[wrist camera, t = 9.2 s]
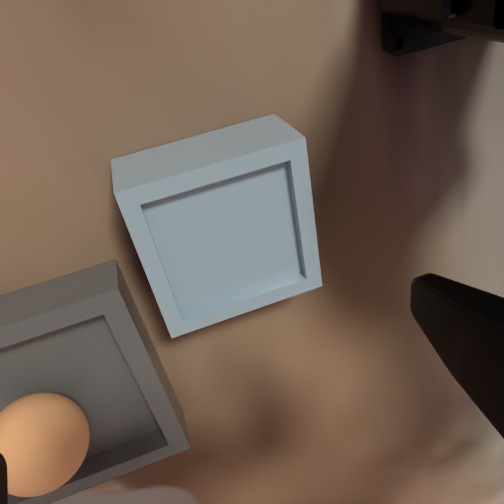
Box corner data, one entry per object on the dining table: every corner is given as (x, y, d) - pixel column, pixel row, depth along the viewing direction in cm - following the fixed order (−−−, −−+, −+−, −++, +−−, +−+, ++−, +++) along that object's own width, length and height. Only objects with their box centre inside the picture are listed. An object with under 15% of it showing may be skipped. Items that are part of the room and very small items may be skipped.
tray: (115, 259, 21) (118, 289, 19) (183, 414, 27) (190, 448, 25) (-163, 347, 19) (-193, 390, 17) (-17, 490, 26) (-26, 532, 24)
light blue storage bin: (274, 113, 19) (305, 137, 16) (294, 248, 23) (322, 286, 20) (110, 159, 18) (113, 193, 15) (161, 292, 22) (171, 338, 19)
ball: (67, 359, 21) (66, 434, 18) (100, 414, 24) (106, 490, 20) (-29, 395, 20) (-50, 481, 17) (16, 448, 23) (7, 533, 19)
